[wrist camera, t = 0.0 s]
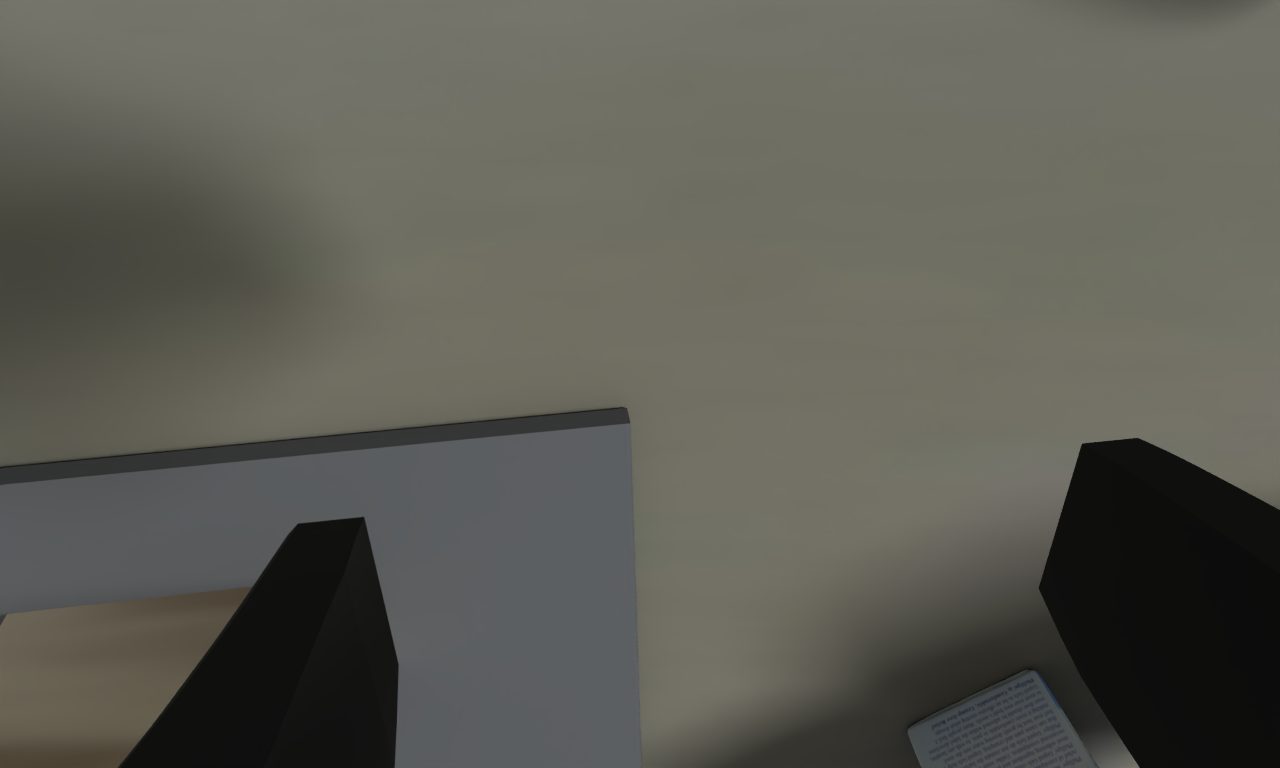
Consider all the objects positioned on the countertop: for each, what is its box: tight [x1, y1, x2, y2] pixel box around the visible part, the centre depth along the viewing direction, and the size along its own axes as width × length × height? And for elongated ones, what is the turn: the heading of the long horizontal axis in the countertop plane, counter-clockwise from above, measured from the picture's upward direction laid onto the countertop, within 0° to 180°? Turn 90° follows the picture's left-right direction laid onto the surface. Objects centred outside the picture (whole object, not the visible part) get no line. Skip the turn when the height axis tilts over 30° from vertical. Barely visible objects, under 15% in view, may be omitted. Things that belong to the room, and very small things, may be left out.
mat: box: [0, 408, 642, 768], centre depth 24 cm, size 18×20×1 cm
